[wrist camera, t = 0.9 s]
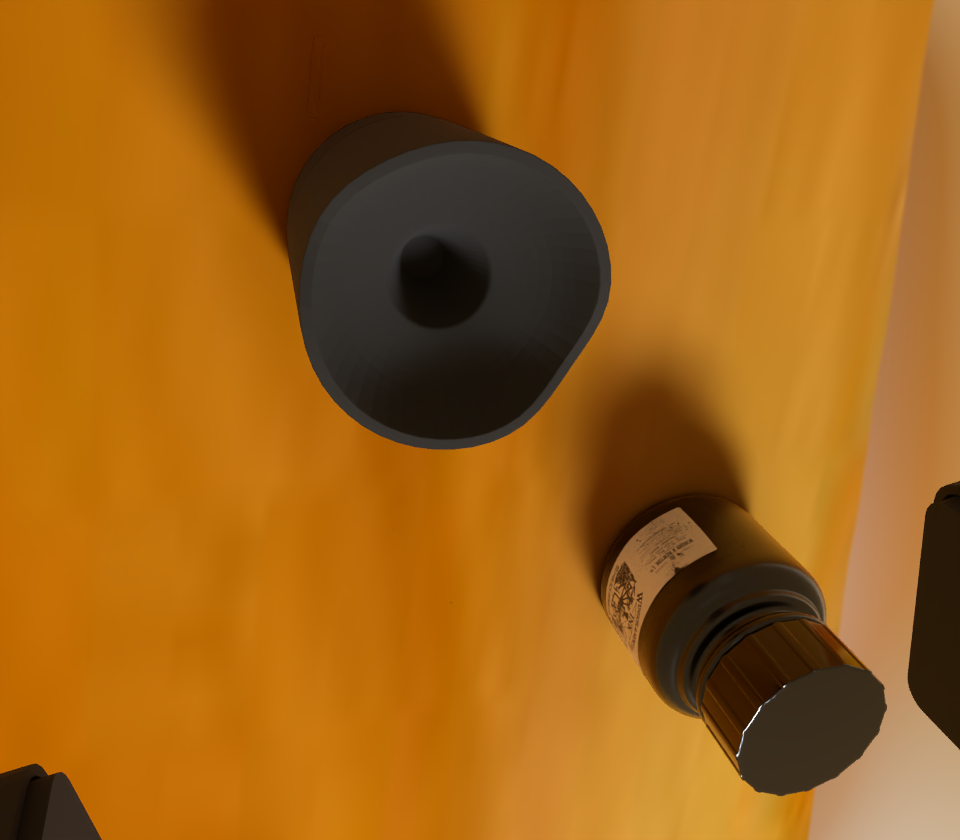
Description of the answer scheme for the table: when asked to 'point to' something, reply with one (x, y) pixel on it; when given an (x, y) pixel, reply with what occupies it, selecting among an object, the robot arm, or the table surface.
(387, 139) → the pen holder
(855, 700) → the ink bottle
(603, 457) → the table surface
